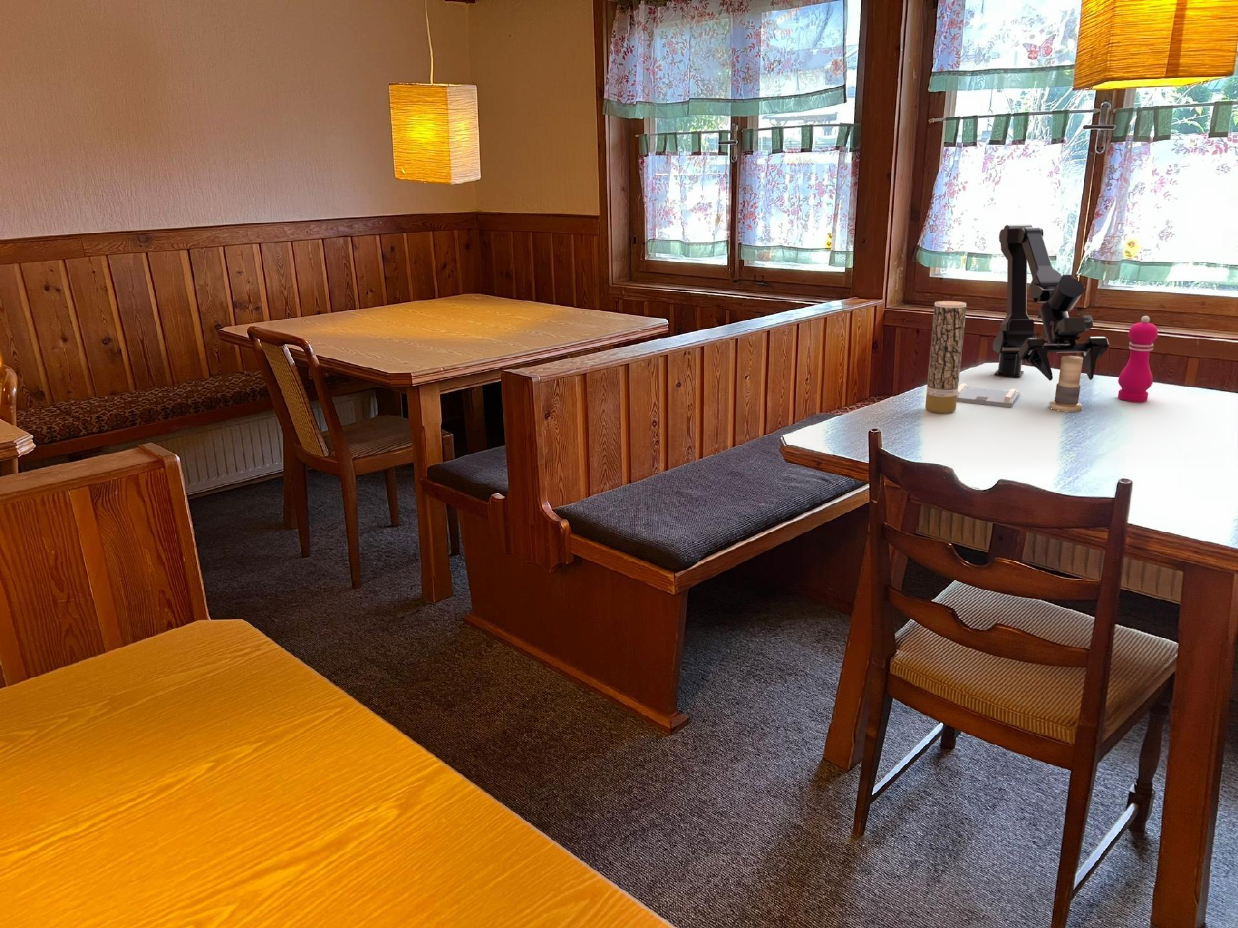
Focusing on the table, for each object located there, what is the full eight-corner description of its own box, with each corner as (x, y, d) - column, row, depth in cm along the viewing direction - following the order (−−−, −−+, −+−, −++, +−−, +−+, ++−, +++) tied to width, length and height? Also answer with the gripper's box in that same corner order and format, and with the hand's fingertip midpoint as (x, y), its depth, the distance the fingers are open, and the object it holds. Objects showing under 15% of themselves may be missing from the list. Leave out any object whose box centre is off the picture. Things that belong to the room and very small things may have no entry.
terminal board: (960, 390, 230) (960, 381, 229) (1019, 396, 223) (1020, 387, 222) (949, 400, 220) (950, 392, 219) (1011, 407, 213) (1012, 398, 213)
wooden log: (959, 414, 209) (971, 305, 201) (930, 414, 209) (940, 306, 201) (950, 406, 215) (960, 300, 207) (921, 407, 215) (930, 301, 207)
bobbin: (1051, 403, 216) (1058, 353, 212) (1082, 406, 213) (1090, 356, 209) (1047, 409, 211) (1054, 359, 207) (1079, 413, 207) (1087, 361, 204)
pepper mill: (1115, 400, 217) (1128, 317, 211) (1115, 393, 223) (1128, 312, 217) (1149, 403, 214) (1164, 319, 207) (1149, 396, 220) (1163, 314, 213)
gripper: (1029, 303, 209) (1044, 360, 202) (1111, 302, 208) (1129, 359, 201) (1012, 331, 219) (1025, 387, 212) (1090, 330, 218) (1106, 385, 211)
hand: (1071, 379), depth 209 cm, fingers open, 9 cm apart
